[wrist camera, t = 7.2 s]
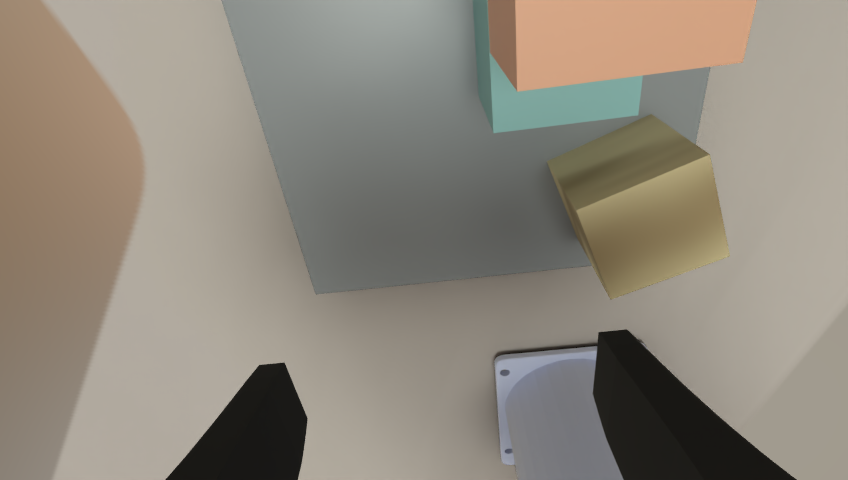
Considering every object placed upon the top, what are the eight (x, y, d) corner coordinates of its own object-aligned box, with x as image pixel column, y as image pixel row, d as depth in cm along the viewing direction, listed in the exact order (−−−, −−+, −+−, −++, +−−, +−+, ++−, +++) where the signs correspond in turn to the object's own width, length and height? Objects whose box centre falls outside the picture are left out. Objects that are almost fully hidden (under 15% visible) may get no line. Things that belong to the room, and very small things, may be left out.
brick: (673, 201, 19) (729, 256, 15) (577, 239, 20) (610, 299, 16) (651, 113, 17) (710, 154, 13) (546, 161, 18) (576, 210, 14)
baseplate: (661, 242, 21) (673, 256, 20) (320, 278, 22) (315, 294, 21) (786, -487, 11) (825, -533, 10) (127, -352, 12) (99, -382, 11)
